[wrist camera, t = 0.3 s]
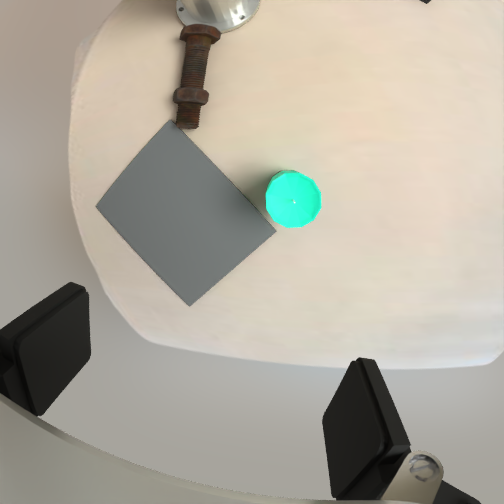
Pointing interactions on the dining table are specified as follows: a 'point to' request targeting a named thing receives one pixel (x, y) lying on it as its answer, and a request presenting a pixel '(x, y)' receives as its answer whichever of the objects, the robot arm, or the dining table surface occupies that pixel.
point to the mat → (183, 214)
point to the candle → (292, 199)
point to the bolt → (194, 73)
